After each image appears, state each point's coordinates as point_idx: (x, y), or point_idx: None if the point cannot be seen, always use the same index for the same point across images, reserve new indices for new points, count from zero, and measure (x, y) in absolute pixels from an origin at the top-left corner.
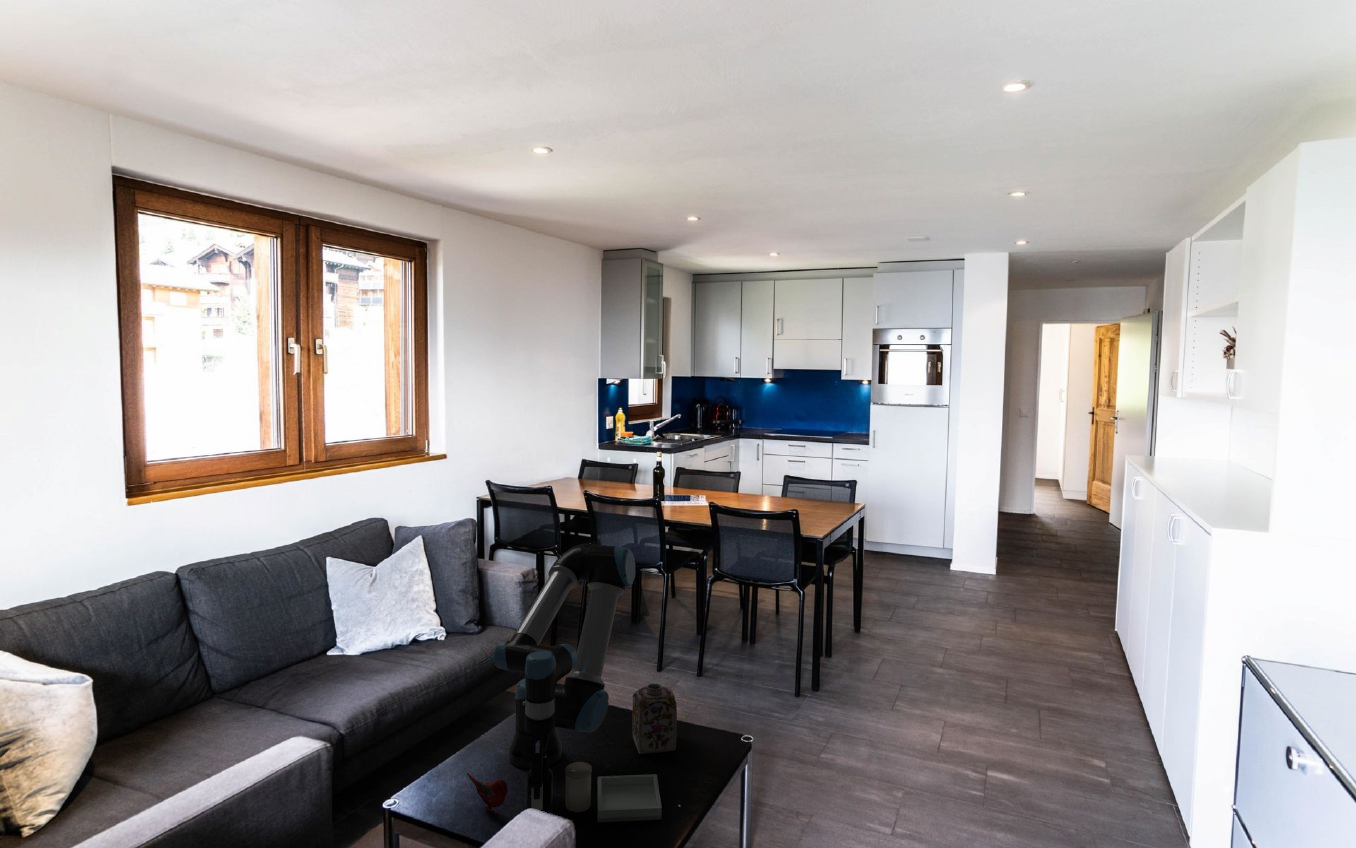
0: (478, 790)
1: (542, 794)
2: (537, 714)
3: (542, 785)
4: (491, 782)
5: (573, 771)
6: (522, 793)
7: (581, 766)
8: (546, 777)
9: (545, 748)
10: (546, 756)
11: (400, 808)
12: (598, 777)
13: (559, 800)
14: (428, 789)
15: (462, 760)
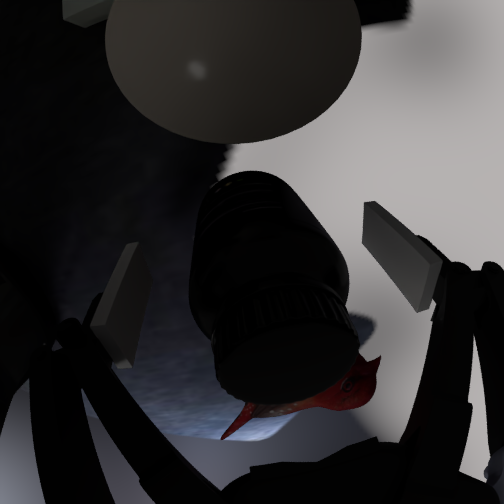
0: None
1: (412, 233)
2: None
3: (441, 259)
4: (295, 408)
5: (292, 58)
6: (172, 291)
7: (190, 3)
8: (331, 259)
9: (460, 457)
10: (98, 326)
11: (270, 434)
12: (69, 13)
13: (195, 149)
14: (206, 430)
15: (94, 412)
